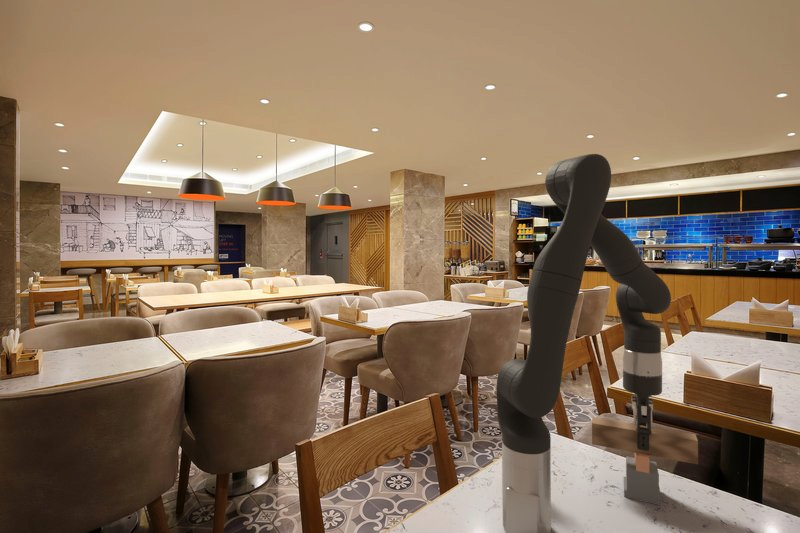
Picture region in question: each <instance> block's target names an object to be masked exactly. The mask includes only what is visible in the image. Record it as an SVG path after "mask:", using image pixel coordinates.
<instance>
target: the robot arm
mask: <svg viewBox="0 0 800 533" xmlns="http://www.w3.org/2000/svg"><path fill="white" fill-rule="evenodd" d="M611 182H612V168H611V166H610V163H609V161H608V160H607V158H606V157H605V156H603V155H601V154H598V153H590V154H584V155H579V156H575V157H572V158H568V159H564V160H560V161H558V162H555V163H554V164H552V165H551V166H550V167H549V169H548V170H547V172H546V175H545V180H544V184H545V190H546V191H547V194H548V195H549V197H550V199H551V201H553V203H554V204H555V206H557V208H559V210H560V211H561V212H562V213H563V215H564V217H563V219H562V222H561V224H560V225H559V227H558V229H557V230H556V231H555V233H554V234H553V236H552V237H551V239H549V241H548V242H547V244H546V245H545V246H544V247H543V248H542V250H541V251H540V253H539V255H537V257H536V259H535V262H534V265H533V267H532V271H531V275H530V280H529V283H528V287H527V293H526V298H527V299H526V302H527V303H526V304H527V305H526V306H527V312H528V319H529V326H530V340H529V347H528V351H527V355H526V359H522V358H514V359H511V360H508V361H507V362H505V363H504V364H503V365H502V366H501V368H500V369H499V372H498V374H497V379H496V390H495V391H496V406H497V407H496V410H497V422H498V425H499V429H500V432H501V433H502V435H501V463H502V464H501V480H502V482H501V483H502V487H501V488H502V489H501V491H502V494H501V495H502V503H501V504H502V526H503V529H504V530H505V533H552V504H551V503H552V499H551V498H552V496H551V495H552V487H551V484H552V482H551V481H552V480H551V478H552V477H551V476H552V474H551V470H552V469H551V466H552V465H551V464H552V463H551V460H552V459H551V457H552V456H551V453H552V452H551V450H552V448H551V447H552V445H551V440H552V438H551V437H552V436H551V433H550V432H551V431H549V428H548V426H547V425H546V423H545V421H544V420H543V417H546V416H547V415H548V414H550V413H551V411H552V410H553V409H554V408H555V405H556V404H557V401H558V399H559V395H560V390H561V383H562V376H563V367H564V361H565V354H566V347H567V342H568V338H569V334H570V329H571V324H572V319H573V316H574V312H575V309H576V304H577V301H578V297H579V295H580V290H581V286H582V281H583V277H584V271H585V267H586V262H587V259H588V256H589V252H590V248H592V249H593V250H594V252H595V254H596V255H597V256H598V259H599V260H600V261H601V262H600V263H602V265H603V267H604V269H605V270H606V271H607V274H608V275H609V277H610V278H611V279H612V281H613V282H615V283H618V284H619V285H618V287H617V289H616V293H615V304H616V307H617V311H618V314H619V317H620V320H621V323H622V324H621V325H622V328H623V332H624V333H623V334H624V335H623V337H624V338H623V341H624V342H623V353H622V354H623V356H622V388H623V389H624V390H625V391H627V392H628V393H631V394H633V393H634V394H633V395H631V407H632V411H633V421H634V422H635V423H634V424H636V425H637V428H636V431H637V448H638V449H639V450H644V451H649V435H651V433H652V431H651V427H652V423H653V410H654V402H653V398H652V397H651V396H654V397H655V396H659V395H661V394H662V392H663V358H662V331H661V329H660V326H658V325H656V324H654V323H651V322H649V321H648V320H646V319H645V317H644V314H650V315H659V314H662V313H665V312H667V310H668V309H669V308H670V305H671V304H672V295H671V291H670V288H669V287H668V285H667V284H666V282H664V280H663V279H662V278H661V277H660V276H659V275H658V274H657V273H656V272H655V271H654V270H653V269H652V268H651V267H650V266H648V264H646V263H645V262H644V261H643V259H642V257H641V255H640V253H639V252H638V250H637V248H636V246H635V244H634V243H633V241H632V240H631V239H630V237H629V236H628V235H627V234H626V233H625V232H624V231H623V230H621V229H620V228H619V227H618V226H617V225H616V224H614V223H612V221H610V220H609V219H607V217H606V216H604V215H602V212H603V209H604V207H605V203H606V201H607V198H608V196H609V191H610V189H611V188H610V187H611ZM640 425H642V426H647V428H644V427H640Z"/></svg>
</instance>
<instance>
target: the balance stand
mask: <svg viewBox="0 0 800 533" xmlns="http://www.w3.org/2000/svg"><path fill="white" fill-rule="evenodd" d="M623 497H624V498H628V499H632V500H637V501H641V502H645V503H649V504H652V505H653V504H654V505H658V506H662V505H663V504H662V501H663V500H662V495H661V490H660V474H659V470H658V465H657V461H651V460H650V455H646V454H640V453H635V452H634V457H631V456H625V476H623Z"/></svg>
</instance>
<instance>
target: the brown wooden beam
mask: <svg viewBox="0 0 800 533" xmlns="http://www.w3.org/2000/svg"><path fill="white" fill-rule="evenodd" d="M640 427H644V428H647V425H646V426H642V425H640ZM636 428H637V425H636V424H635V423H629V422H624V421H616V420H611V419H604V418H598V417H592V419H591V445H594V446H600V447H605V448H610V449H616V450H621V451H626V452H631V453H634V454H635V453H640V454H646V455H649V456H652V457H656V458H663V459H666V460H667V459H668V460H673V461H679V462H682V463H688V464H694V465H698V464H699V440H698V438H697V435H696V433H690V432H683V431H680V430H679V431H678V430H672V429H666V428H659V427H653V426H651V431H652V433H651V435H649V451H644V450H639V449H638V448H637V431H636Z"/></svg>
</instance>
